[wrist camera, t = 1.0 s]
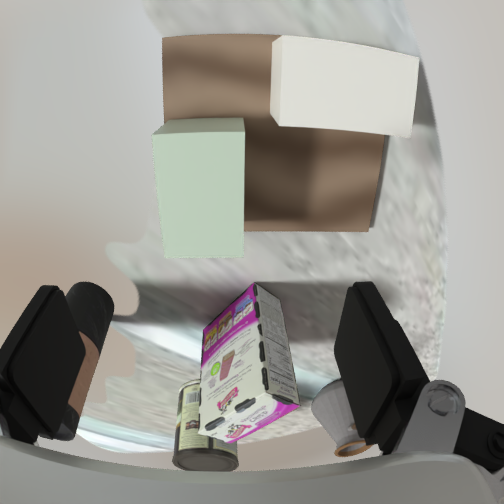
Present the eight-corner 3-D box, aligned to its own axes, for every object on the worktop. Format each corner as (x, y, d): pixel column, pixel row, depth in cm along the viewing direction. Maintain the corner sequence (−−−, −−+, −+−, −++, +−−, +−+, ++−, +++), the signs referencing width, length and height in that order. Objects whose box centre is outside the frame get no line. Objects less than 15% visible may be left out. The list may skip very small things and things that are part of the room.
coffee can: (210, 413, 58) (209, 478, 46) (167, 393, 53) (159, 462, 41) (248, 394, 54) (252, 465, 42) (204, 371, 50) (200, 448, 38)
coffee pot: (365, 398, 58) (384, 461, 45) (310, 410, 59) (322, 476, 46) (374, 329, 47) (406, 410, 34) (301, 346, 47) (318, 433, 35)
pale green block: (169, 119, 28) (151, 134, 22) (243, 117, 29) (245, 131, 23) (176, 221, 34) (164, 257, 28) (241, 221, 35) (243, 257, 29)
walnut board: (164, 38, 25) (162, 37, 24) (388, 51, 26) (393, 51, 25) (174, 227, 36) (173, 232, 35) (365, 227, 37) (368, 231, 36)
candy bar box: (230, 344, 46) (230, 445, 33) (202, 329, 44) (194, 434, 31) (283, 298, 42) (303, 408, 28) (254, 279, 40) (264, 393, 26)
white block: (269, 113, 29) (279, 126, 23) (272, 42, 25) (282, 35, 19) (377, 122, 29) (410, 138, 23) (383, 56, 25) (419, 57, 19)
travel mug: (121, 292, 40) (76, 425, 24) (111, 327, 44) (74, 448, 27) (70, 271, 38) (6, 393, 21) (65, 308, 42) (15, 422, 25)
